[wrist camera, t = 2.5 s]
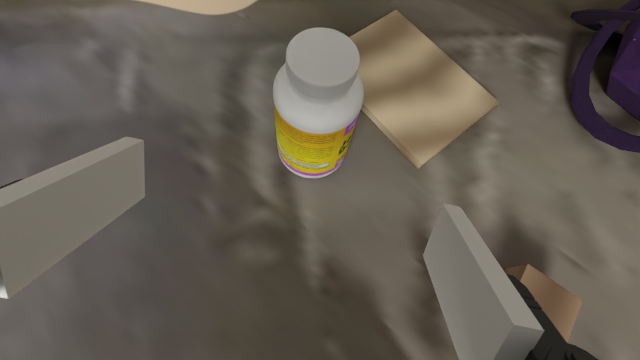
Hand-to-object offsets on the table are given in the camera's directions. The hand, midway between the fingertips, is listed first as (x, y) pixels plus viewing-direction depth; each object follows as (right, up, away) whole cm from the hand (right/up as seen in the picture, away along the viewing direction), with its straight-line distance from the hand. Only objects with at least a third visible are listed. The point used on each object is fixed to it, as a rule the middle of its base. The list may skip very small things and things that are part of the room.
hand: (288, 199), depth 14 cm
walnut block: (+18, -10, +14) cm, 25 cm away
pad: (+11, +11, +22) cm, 27 cm away
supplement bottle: (+1, +4, +18) cm, 19 cm away
